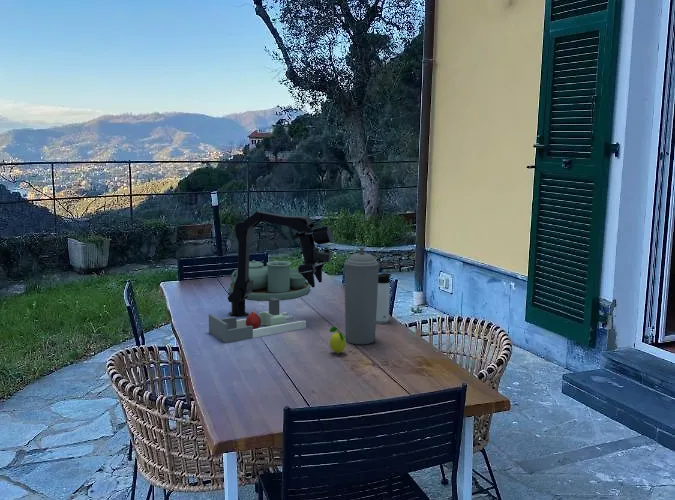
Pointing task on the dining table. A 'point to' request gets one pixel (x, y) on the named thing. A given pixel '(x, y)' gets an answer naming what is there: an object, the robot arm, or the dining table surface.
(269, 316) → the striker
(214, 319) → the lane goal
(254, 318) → the onion
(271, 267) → the tea set
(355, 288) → the canister
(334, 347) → the lemon
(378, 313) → the travel mug
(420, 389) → the dining table surface
